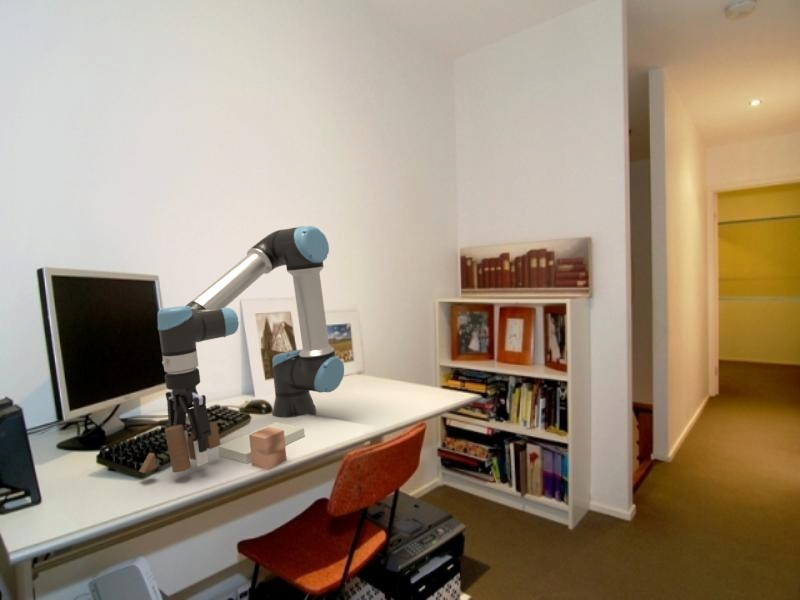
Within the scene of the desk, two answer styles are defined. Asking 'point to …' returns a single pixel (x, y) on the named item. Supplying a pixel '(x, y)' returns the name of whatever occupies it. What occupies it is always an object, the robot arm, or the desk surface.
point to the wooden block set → (181, 448)
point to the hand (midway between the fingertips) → (193, 460)
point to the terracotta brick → (267, 448)
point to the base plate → (241, 445)
